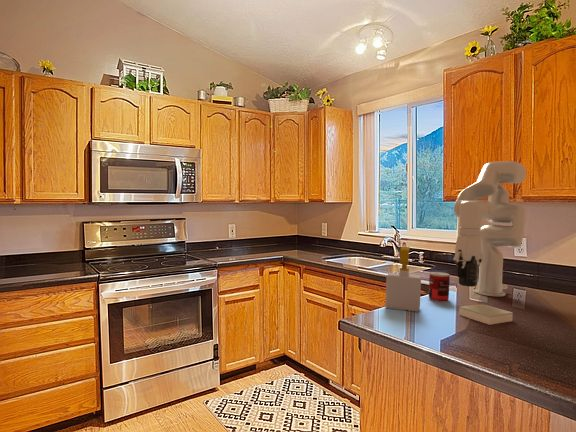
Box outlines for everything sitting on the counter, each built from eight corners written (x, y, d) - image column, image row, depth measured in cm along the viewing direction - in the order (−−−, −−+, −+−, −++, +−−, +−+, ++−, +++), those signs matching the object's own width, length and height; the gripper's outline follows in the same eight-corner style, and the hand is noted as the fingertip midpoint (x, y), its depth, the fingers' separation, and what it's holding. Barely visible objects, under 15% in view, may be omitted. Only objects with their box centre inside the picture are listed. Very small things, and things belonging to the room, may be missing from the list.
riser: (481, 311, 144) (482, 303, 144) (512, 321, 133) (512, 312, 133) (459, 314, 139) (459, 306, 139) (489, 324, 128) (489, 315, 128)
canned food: (432, 296, 167) (433, 271, 167) (451, 299, 162) (452, 273, 162) (425, 299, 162) (426, 273, 161) (445, 302, 156) (446, 276, 156)
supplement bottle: (454, 283, 155) (455, 254, 154) (467, 282, 157) (468, 253, 156) (468, 287, 148) (469, 256, 147) (481, 285, 151) (482, 255, 150)
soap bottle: (419, 308, 147) (422, 247, 146) (418, 312, 140) (421, 249, 140) (387, 304, 151) (389, 245, 150) (385, 308, 145) (387, 246, 144)
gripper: (476, 230, 158) (475, 272, 159) (445, 232, 151) (444, 277, 152) (492, 232, 151) (491, 276, 153) (461, 234, 144) (460, 281, 145)
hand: (468, 276), depth 152 cm, fingers closed on supplement bottle, 6 cm apart
